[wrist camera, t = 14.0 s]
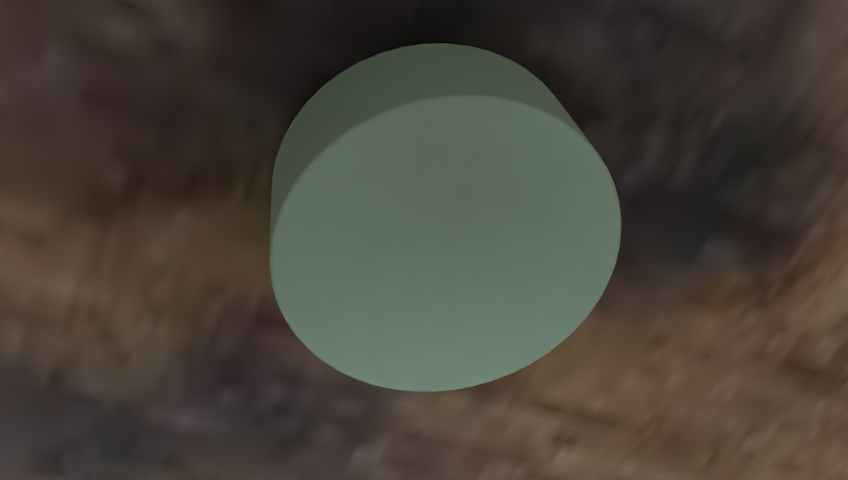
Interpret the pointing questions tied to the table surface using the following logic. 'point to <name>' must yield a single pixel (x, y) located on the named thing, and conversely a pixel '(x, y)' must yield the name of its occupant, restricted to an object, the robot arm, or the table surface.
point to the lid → (438, 220)
